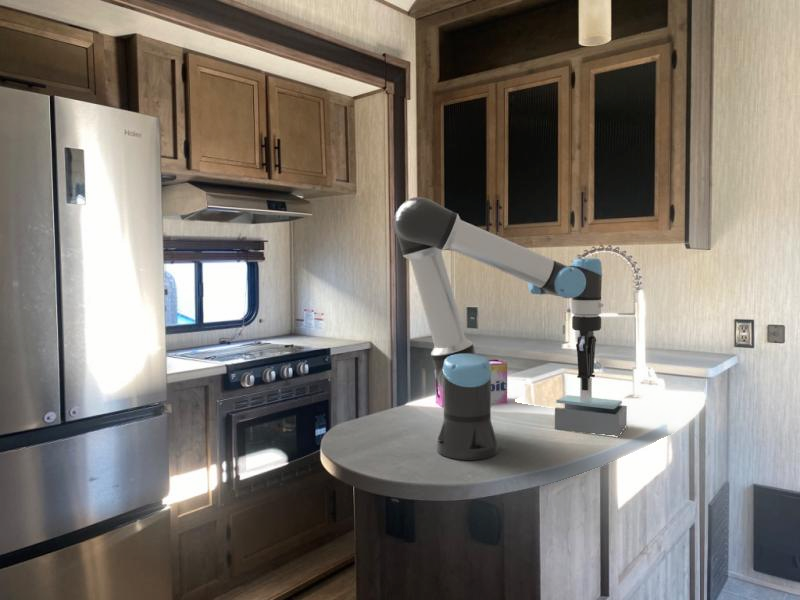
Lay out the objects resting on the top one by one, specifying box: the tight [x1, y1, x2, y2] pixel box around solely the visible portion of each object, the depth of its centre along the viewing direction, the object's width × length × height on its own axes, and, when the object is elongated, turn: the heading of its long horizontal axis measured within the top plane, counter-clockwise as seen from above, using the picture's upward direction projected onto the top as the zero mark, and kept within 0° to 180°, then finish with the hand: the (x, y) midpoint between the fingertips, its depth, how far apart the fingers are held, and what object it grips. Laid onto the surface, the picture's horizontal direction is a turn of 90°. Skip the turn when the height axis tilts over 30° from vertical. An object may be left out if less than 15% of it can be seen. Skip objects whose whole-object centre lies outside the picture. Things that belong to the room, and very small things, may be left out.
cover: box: [555, 394, 623, 409], centre depth 169 cm, size 12×15×1 cm
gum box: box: [434, 358, 508, 408], centre depth 199 cm, size 24×8×14 cm, turn 103°
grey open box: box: [554, 404, 628, 436], centre depth 168 cm, size 12×17×6 cm
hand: (585, 401), depth 165 cm, fingers closed
